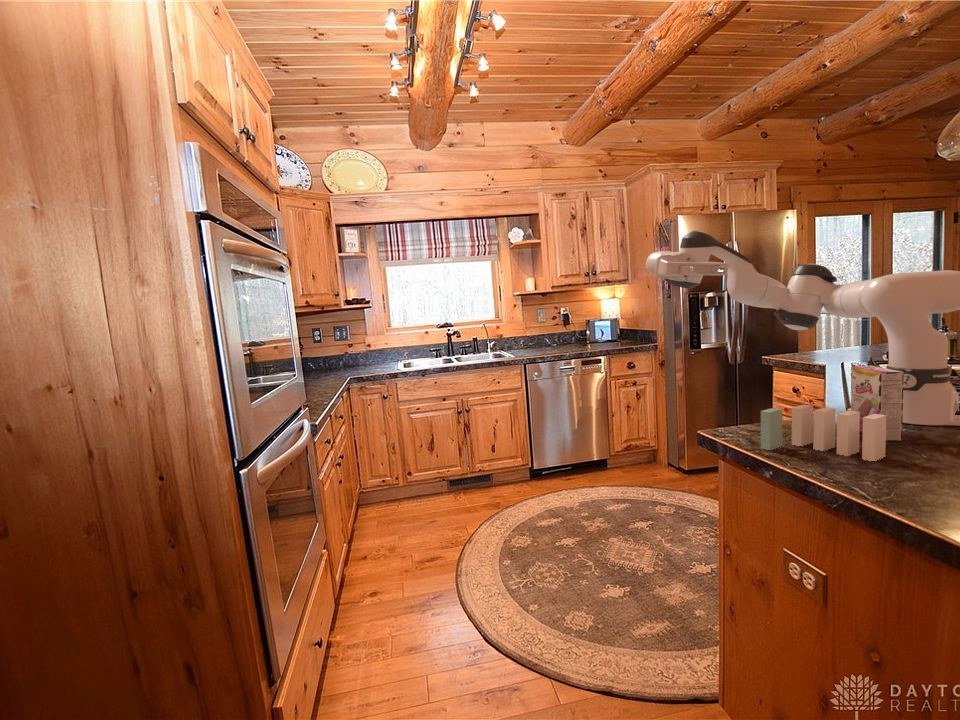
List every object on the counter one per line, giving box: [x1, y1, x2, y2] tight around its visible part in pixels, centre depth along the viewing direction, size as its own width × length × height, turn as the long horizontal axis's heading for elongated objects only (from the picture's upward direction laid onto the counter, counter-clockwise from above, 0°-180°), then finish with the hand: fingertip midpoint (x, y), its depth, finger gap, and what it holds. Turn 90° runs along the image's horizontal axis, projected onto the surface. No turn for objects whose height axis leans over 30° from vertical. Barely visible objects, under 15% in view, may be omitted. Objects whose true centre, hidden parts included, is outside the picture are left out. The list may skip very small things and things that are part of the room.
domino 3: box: [812, 406, 837, 452], centre depth 100 cm, size 5×2×9 cm, turn 118°
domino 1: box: [760, 407, 783, 451], centre depth 102 cm, size 5×2×9 cm, turn 118°
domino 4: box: [836, 409, 860, 457], centre depth 96 cm, size 5×2×9 cm, turn 118°
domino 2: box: [791, 404, 814, 447], centre depth 104 cm, size 5×2×9 cm, turn 118°
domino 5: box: [861, 414, 887, 462], centre depth 92 cm, size 5×2×9 cm, turn 118°
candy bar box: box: [850, 365, 904, 442], centre depth 106 cm, size 11×5×16 cm, turn 168°
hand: (710, 270), depth 125 cm, fingers open, 8 cm apart
